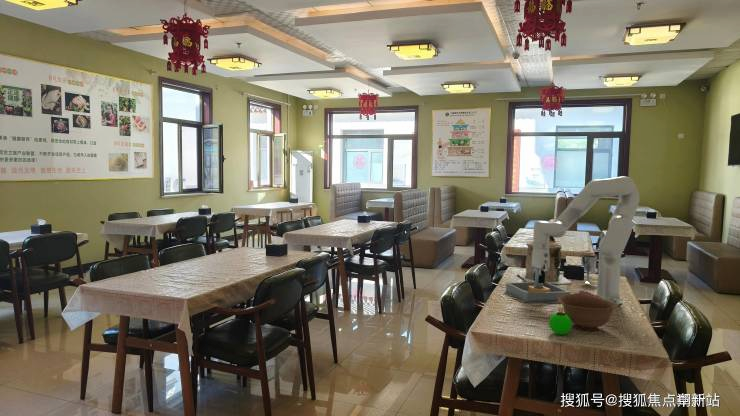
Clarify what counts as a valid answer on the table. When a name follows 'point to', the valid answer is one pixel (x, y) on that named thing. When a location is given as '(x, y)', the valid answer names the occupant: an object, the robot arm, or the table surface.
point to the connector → (537, 285)
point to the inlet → (534, 290)
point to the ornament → (560, 323)
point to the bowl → (587, 310)
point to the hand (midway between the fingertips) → (538, 281)
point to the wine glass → (588, 265)
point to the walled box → (522, 293)
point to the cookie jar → (553, 271)
